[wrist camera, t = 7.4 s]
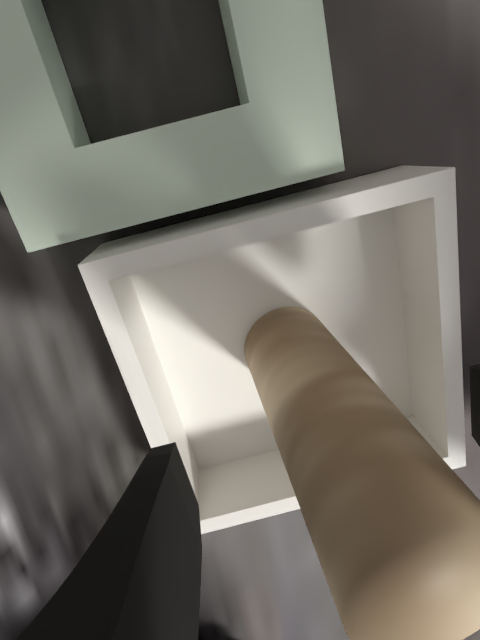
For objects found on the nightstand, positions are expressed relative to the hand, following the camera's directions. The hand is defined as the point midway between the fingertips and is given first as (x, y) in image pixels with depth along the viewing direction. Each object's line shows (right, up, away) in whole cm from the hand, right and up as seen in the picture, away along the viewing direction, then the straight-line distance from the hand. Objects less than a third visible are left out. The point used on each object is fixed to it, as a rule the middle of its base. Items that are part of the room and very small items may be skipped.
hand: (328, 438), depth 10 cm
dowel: (0, +2, +5) cm, 5 cm away
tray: (-1, +2, +5) cm, 6 cm away
